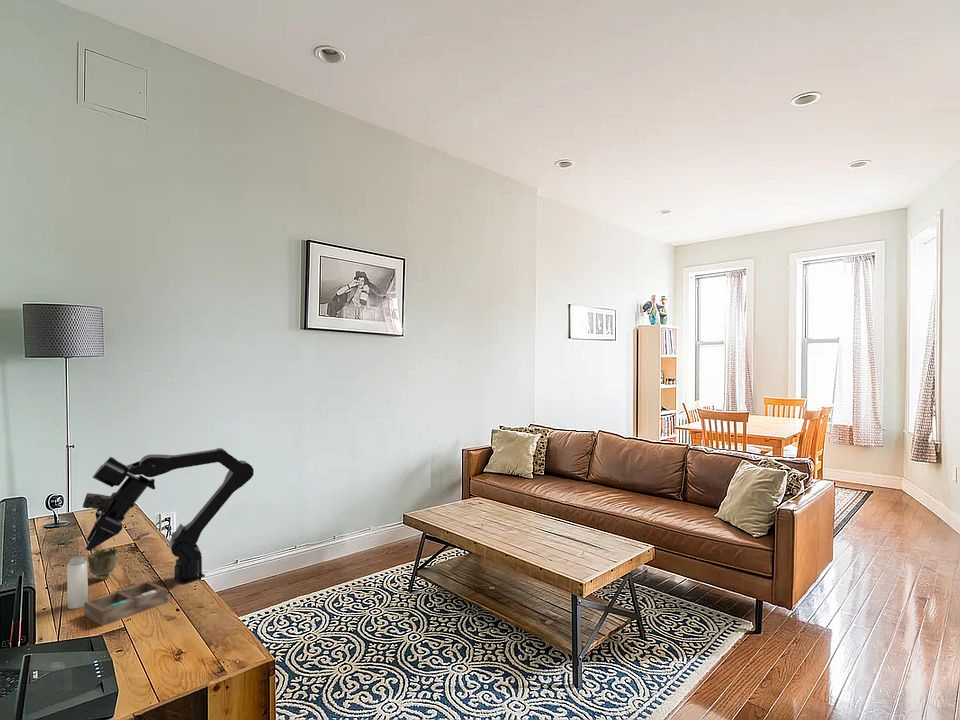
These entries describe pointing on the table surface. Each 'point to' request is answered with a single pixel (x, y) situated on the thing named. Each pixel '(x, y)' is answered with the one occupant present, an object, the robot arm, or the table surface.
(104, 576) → the cup
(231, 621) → the table surface
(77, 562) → the plug
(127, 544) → the table surface
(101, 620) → the socket block
